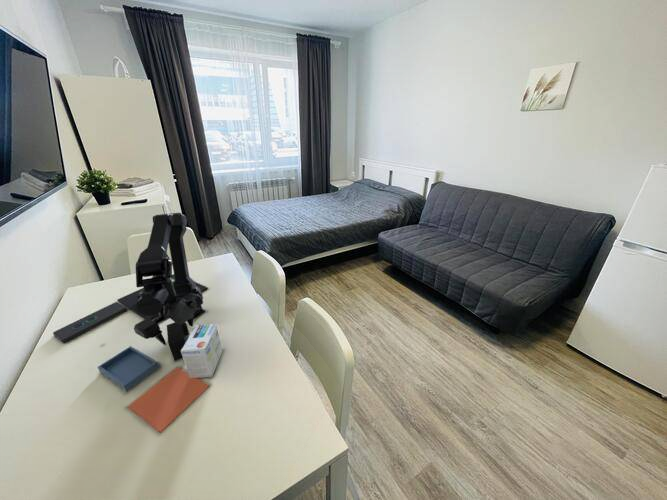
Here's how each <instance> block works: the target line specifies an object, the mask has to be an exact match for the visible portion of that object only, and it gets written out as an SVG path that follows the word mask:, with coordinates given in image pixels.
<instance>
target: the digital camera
mask: <svg viewBox="0 0 667 500" xmlns="http://www.w3.org/2000/svg"><path fill="white" fill-rule="evenodd" d="M166 333H167V335H166V336H167V344H168V347H169V350H170V353H171V355H172V358H173V360H174V362H177V361H179V360H181V359H183V357H182V354H181V349H182V348H183V346H184V345H185V343H186V341H187V339H188V337H189V336H190V331H189V327H188V324H187V321H186V322H185V323H184V324H182V325H177V324H176V323H175V322H172V323H169V324H167V325H166Z"/></svg>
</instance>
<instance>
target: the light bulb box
mask: <svg viewBox="0 0 667 500" xmlns="http://www.w3.org/2000/svg"><path fill="white" fill-rule="evenodd" d="M222 353H223V345H222V341H221V337H220V334H219V329H218V324H217V323H210V324H197V325H193V328H192V330H191V332H190V333H189V335H188V337H187V341H186V343H185V345H184V346H183V348H182V349H181V354H182V357H183V358H182V359H183V362H184V366H185V368H186V372H187V373H188V374H189V377H190V378H197V379H201V378H213V375H214V373H215V371H216V368H217V366H218V363H219V360H220V358H221V356H222Z"/></svg>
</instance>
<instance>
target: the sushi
mask: <svg viewBox="0 0 667 500" xmlns="http://www.w3.org/2000/svg"><path fill="white" fill-rule="evenodd" d="M170 278H171V280H172V283H174V281H175V277H174V273H172V277H170ZM194 282H195V283H196V288H198V289H200V290H201V292H202V293H203V292H205V291H207V290H209V289H208V286H205V285H203V284H201V283H198V282H196V281H194ZM143 291H144V287H141V288H140V289H138V290H136V291H133V292H131V293H128V294H126V295H124V296H122V297H120V298H117V299H116V300H117V303H119V304H121V305H123V306H125V307H126V308H127V309H128V310H130V311H131V312H133V313H134V314H136V315H137V316H139V317H140V318H142V319H143V320H145V319H146V318H148V319H150V320H154V319H156V318H157V317H159V316H160V315H159V314H157V315H153V316H147V315H143V314H141V313H140V312H139V311H138V310H137V303H138V301H139V299H140V298H141V293H142V292H143Z"/></svg>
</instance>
